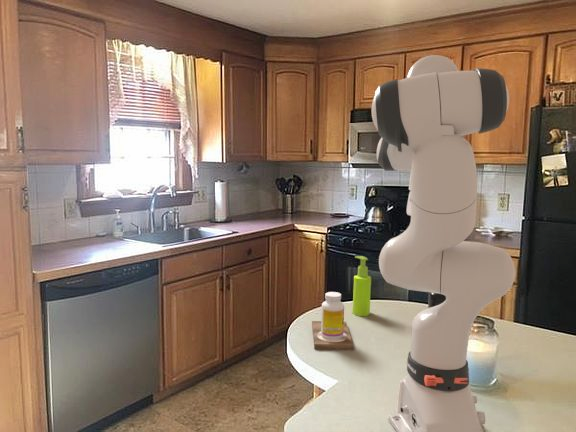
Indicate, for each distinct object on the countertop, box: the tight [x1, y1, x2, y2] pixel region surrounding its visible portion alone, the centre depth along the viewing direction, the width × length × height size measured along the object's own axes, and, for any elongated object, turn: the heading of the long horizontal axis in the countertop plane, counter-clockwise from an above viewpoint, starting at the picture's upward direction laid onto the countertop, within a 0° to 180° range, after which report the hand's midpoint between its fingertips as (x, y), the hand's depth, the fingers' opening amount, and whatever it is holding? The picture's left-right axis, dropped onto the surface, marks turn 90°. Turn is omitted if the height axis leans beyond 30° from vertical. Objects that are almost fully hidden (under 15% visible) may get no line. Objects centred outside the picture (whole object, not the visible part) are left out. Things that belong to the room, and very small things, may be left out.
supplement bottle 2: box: [427, 292, 446, 308], centre depth 159 cm, size 7×7×12 cm
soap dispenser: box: [352, 255, 372, 317], centre depth 162 cm, size 6×7×20 cm
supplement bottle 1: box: [321, 291, 345, 339], centre depth 138 cm, size 7×7×13 cm
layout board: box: [311, 320, 354, 351], centre depth 141 cm, size 18×11×6 cm, turn 179°
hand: (420, 235), depth 128 cm, fingers open, 8 cm apart
